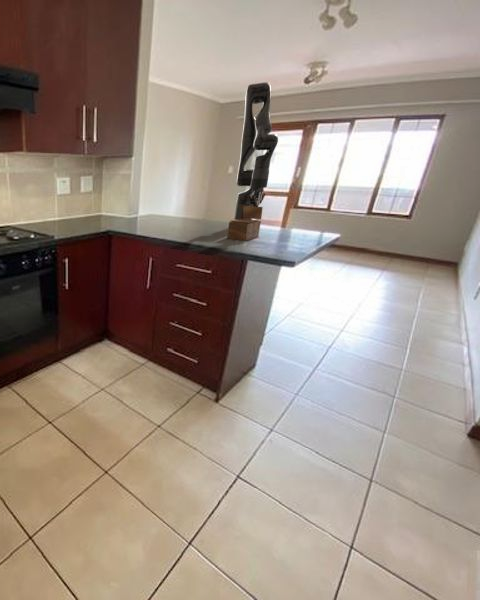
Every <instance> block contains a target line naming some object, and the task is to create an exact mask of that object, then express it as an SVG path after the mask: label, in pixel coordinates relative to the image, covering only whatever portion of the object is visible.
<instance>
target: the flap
mask: <svg viewBox="0 0 480 600" xmlns="http://www.w3.org/2000/svg"><path fill="white" fill-rule="evenodd" d="M263 208H264V207H263V206H258V207H255V206H244V208H243V218H250V219H252V220H262V216H263Z"/></svg>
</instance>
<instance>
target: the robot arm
mask: <svg viewBox="0 0 480 600" xmlns="http://www.w3.org/2000/svg"><path fill="white" fill-rule="evenodd" d="M271 101H272V87H271V84H270V82H268V81H266V82H257V83H256V82H255V83H250V84H248V85H247V88H246V91H245V100H244V103H245V104H244V118H243V119H244V120H243V128H242V135H241V144H240V157H239V163H238V170H237V176H236V186H238V187H249V188H248V189H247V190H244V191H241V192H239V193H238V194H237V198H236V204H235V211H234V219H248V220H253V219H250V218H243V208H244V206H255V207H259V206H260V204H262V203H263V200H264V198H265V197H266V193H265V192H264V189H265V188H267V187H268V182H269V177H270V176H269V175H270V166H271V161H272V157H273V155H274V152H275V150H276V148H277V146H278V143H279V137H278V135H277V134H275V133H271V132H272V129H273V125H272V119H271V104H272V103H271ZM258 104H262V107H261V108H260V110H259V111H258V113H257V114H256V116H255V114H254V110H253V105H258ZM256 151H265V153H264V154H261V155H257V156H256V157H255V158H254V165H253V169H246V166H247V163H248V162H249V160H250V158H251V156H253V155H254V153H255V152H256ZM234 219H233V220H234Z"/></svg>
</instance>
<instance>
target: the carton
mask: <svg viewBox="0 0 480 600" xmlns="http://www.w3.org/2000/svg"><path fill="white" fill-rule="evenodd" d="M261 222H262V221H261V220H260V219H252V220H248V219H230V220H229V222H228V229H227V235H226V239H231V240H238V241H249V240H252V239H256V238H259V236H260V228H261Z"/></svg>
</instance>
